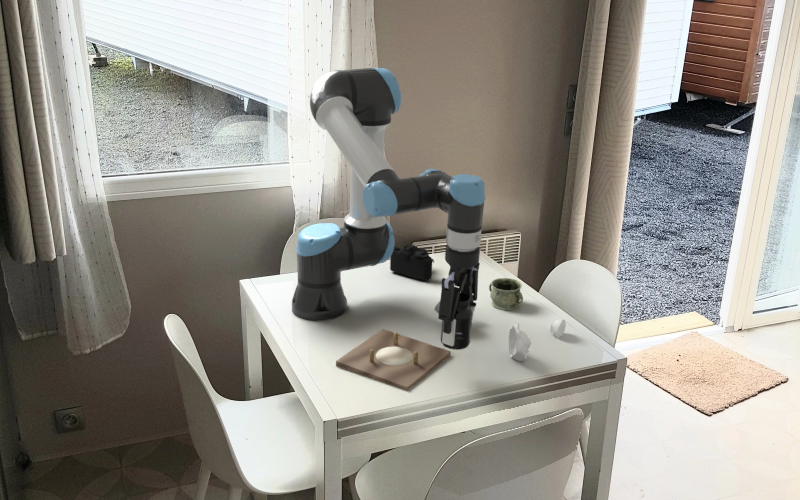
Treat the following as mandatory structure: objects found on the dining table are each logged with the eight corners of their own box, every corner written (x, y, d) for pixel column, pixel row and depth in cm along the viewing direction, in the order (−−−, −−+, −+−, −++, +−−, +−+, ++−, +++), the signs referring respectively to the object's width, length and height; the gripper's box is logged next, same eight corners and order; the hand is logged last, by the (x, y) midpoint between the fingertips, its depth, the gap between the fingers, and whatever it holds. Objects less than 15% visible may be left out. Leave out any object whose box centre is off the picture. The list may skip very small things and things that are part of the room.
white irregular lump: (558, 341, 200) (560, 324, 198) (547, 338, 201) (549, 321, 199) (565, 334, 204) (567, 317, 202) (554, 331, 205) (556, 314, 203)
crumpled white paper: (533, 371, 186) (537, 335, 182) (515, 371, 185) (519, 335, 182) (524, 350, 195) (527, 315, 191) (506, 350, 195) (510, 315, 191)
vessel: (531, 307, 218) (533, 286, 216) (511, 316, 213) (513, 295, 210) (498, 293, 226) (499, 273, 224) (478, 301, 221) (479, 281, 218)
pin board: (336, 366, 185) (336, 349, 183) (382, 334, 201) (383, 318, 199) (407, 393, 175) (407, 375, 174) (450, 356, 191) (451, 340, 189)
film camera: (443, 272, 239) (445, 245, 236) (426, 282, 232) (427, 254, 228) (402, 260, 247) (403, 234, 244) (385, 270, 239) (385, 242, 236)
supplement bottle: (450, 353, 176) (453, 305, 171) (435, 339, 182) (438, 293, 177) (475, 347, 179) (480, 300, 174) (460, 333, 185) (464, 288, 180)
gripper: (456, 264, 161) (449, 360, 170) (498, 236, 177) (489, 325, 186) (425, 255, 165) (419, 350, 174) (469, 228, 180) (462, 316, 189)
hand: (456, 337), depth 180 cm, fingers closed on supplement bottle, 7 cm apart
